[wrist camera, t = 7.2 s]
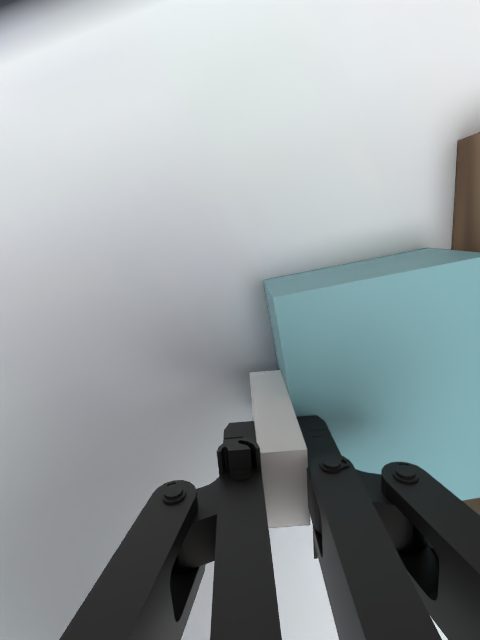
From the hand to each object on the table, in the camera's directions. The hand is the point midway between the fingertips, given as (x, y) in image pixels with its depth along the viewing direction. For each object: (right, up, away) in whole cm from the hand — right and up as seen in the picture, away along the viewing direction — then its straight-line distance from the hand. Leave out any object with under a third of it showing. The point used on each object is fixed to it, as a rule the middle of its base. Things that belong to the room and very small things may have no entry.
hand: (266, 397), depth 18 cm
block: (+5, +2, +1) cm, 5 cm away
